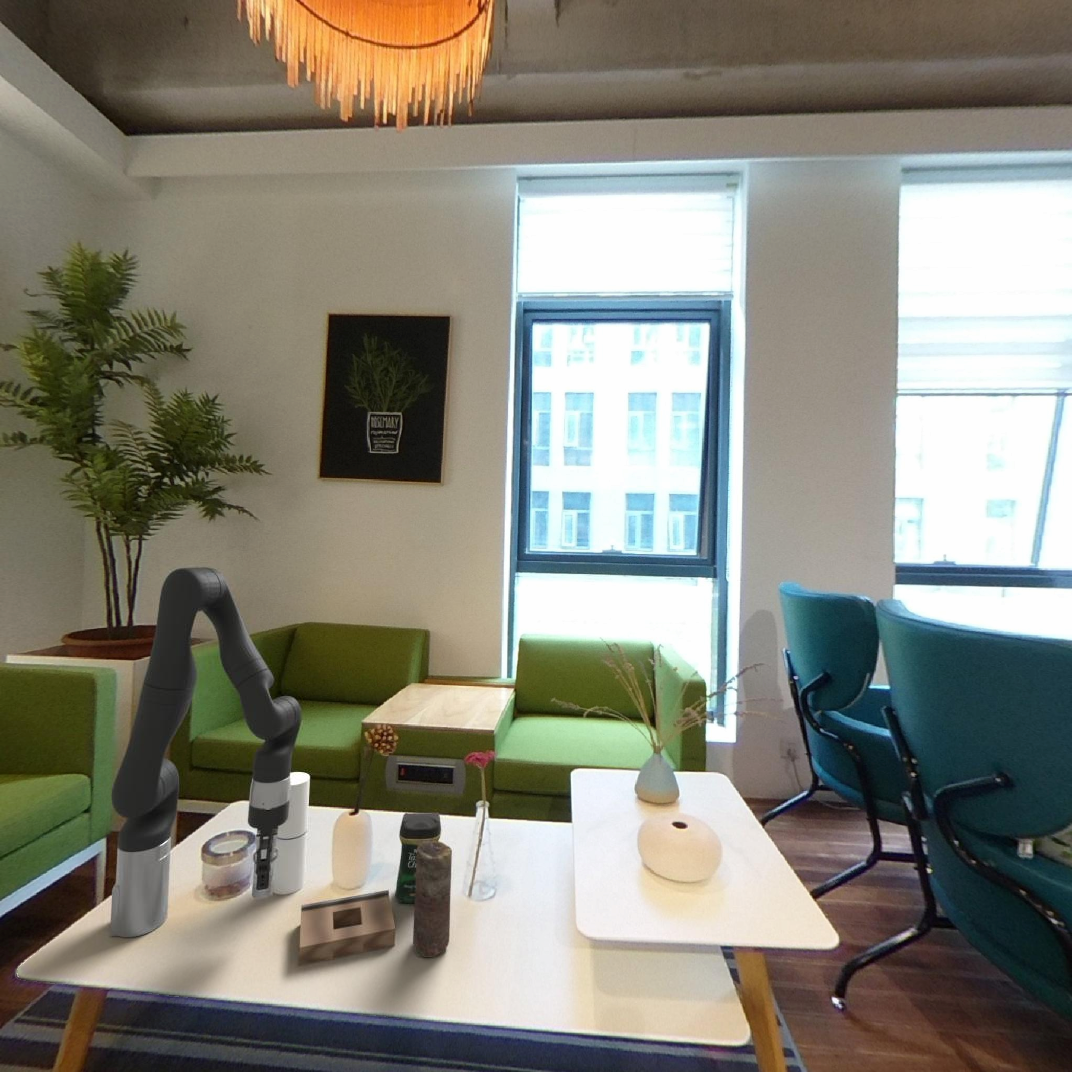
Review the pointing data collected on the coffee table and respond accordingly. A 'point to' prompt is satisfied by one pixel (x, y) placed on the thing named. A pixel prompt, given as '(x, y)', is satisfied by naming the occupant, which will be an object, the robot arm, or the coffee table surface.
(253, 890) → the salt shaker
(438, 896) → the candle
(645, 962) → the coffee table surface
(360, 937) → the jig
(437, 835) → the coffee jar
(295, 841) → the cylindrical container
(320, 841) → the coffee table surface
